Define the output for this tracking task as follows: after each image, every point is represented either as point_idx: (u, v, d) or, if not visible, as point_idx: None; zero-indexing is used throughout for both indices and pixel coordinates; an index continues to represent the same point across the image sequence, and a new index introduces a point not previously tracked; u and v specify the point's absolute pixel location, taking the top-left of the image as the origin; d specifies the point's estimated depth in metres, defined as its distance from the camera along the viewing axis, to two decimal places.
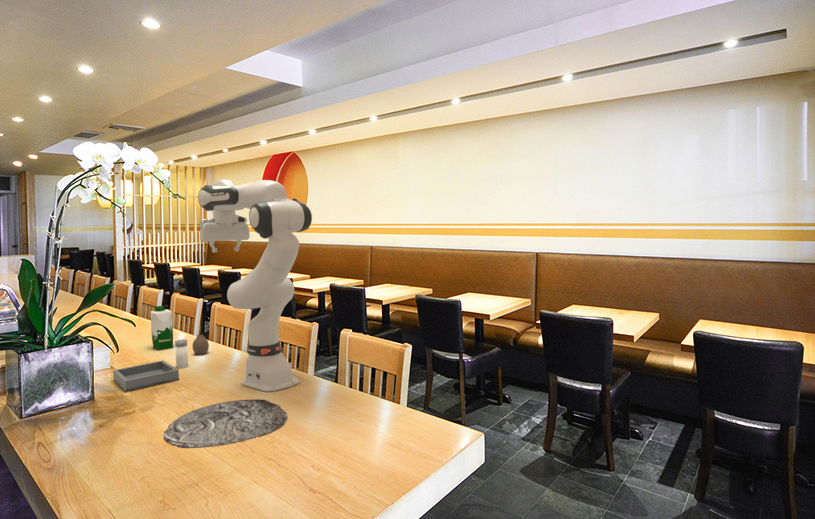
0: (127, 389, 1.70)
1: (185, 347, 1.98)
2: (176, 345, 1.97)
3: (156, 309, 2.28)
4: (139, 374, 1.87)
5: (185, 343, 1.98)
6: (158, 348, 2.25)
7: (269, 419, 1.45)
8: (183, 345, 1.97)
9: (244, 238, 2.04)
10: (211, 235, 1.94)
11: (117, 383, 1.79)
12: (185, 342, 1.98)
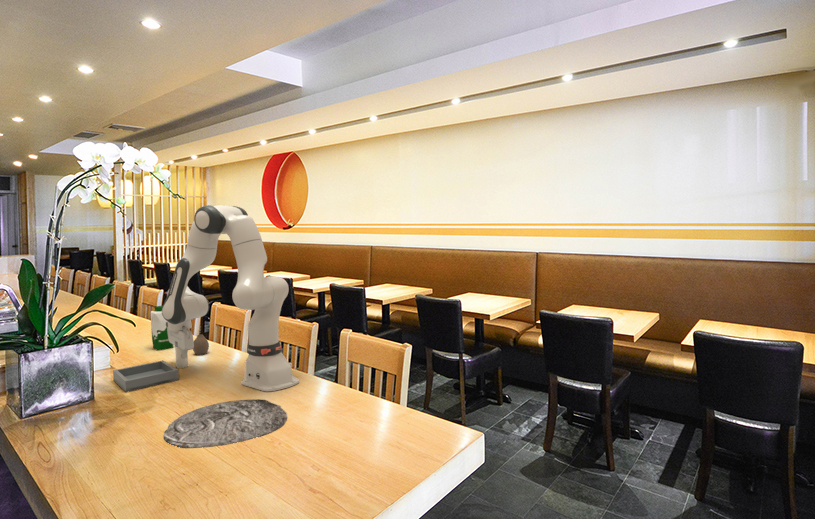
0: (127, 389, 1.70)
1: None
2: (176, 345, 1.97)
3: (156, 309, 2.28)
4: (139, 374, 1.87)
5: None
6: (158, 348, 2.25)
7: (269, 419, 1.45)
8: None
9: None
10: None
11: (117, 383, 1.79)
12: None
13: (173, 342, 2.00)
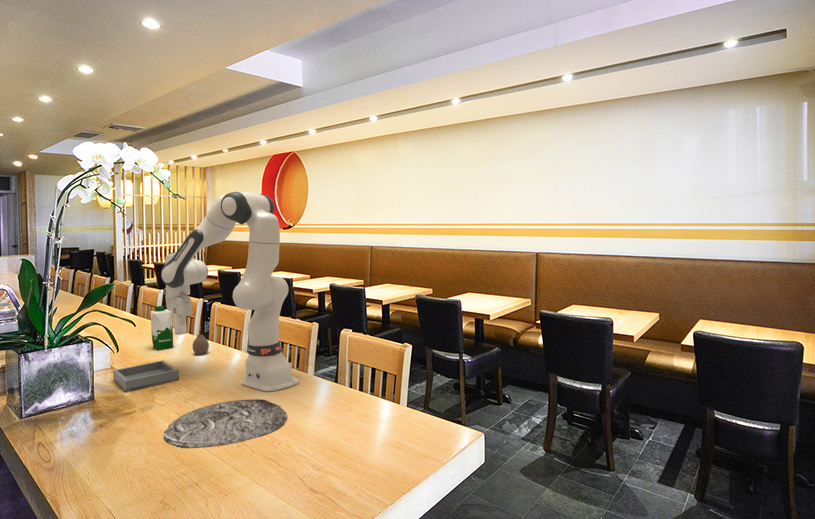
0: (127, 389, 1.70)
1: None
2: (174, 311, 1.95)
3: (156, 309, 2.28)
4: (139, 374, 1.87)
5: None
6: (158, 348, 2.25)
7: (269, 419, 1.45)
8: None
9: None
10: None
11: (117, 383, 1.79)
12: None
13: (171, 309, 1.99)
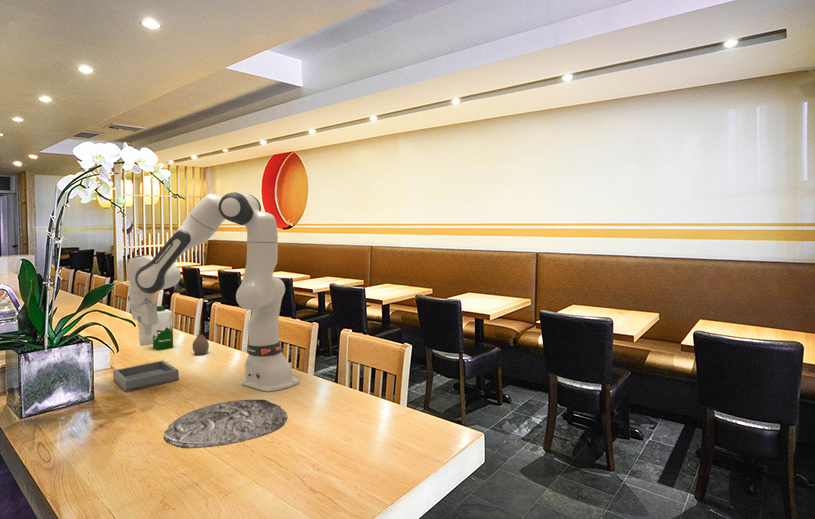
0: (127, 389, 1.70)
1: None
2: (139, 320, 1.79)
3: None
4: (139, 374, 1.87)
5: None
6: (158, 348, 2.25)
7: (269, 419, 1.45)
8: None
9: None
10: None
11: (117, 383, 1.79)
12: None
13: (136, 318, 1.82)
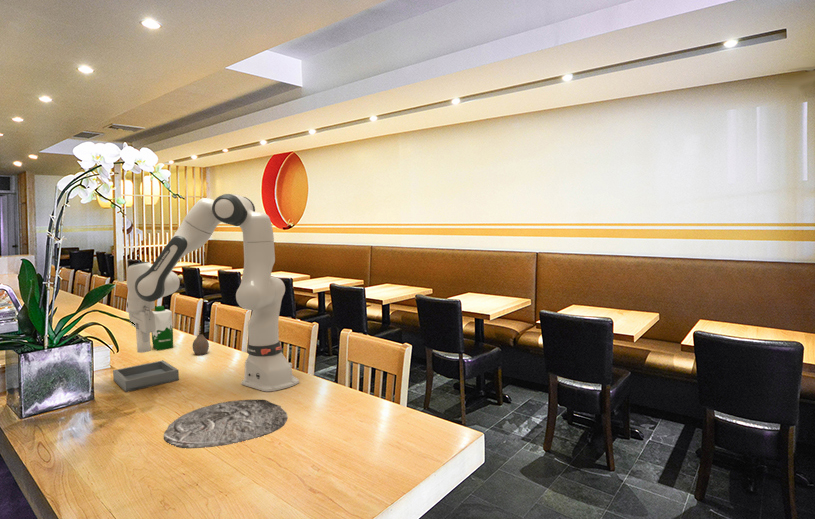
0: (127, 389, 1.70)
1: None
2: (137, 327, 1.79)
3: (156, 309, 2.28)
4: (139, 374, 1.87)
5: None
6: (158, 348, 2.25)
7: (269, 419, 1.44)
8: None
9: None
10: None
11: (117, 383, 1.79)
12: None
13: None
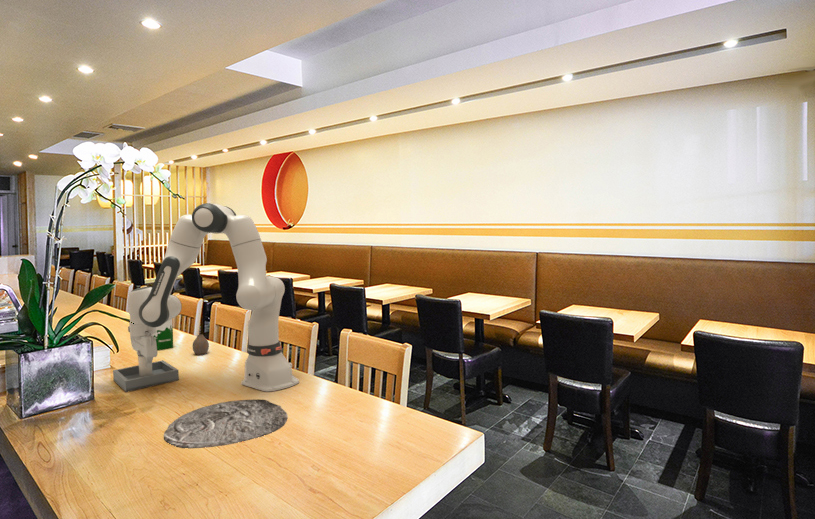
0: (127, 389, 1.70)
1: None
2: (139, 354, 1.80)
3: None
4: None
5: None
6: (158, 348, 2.25)
7: (269, 419, 1.44)
8: None
9: None
10: None
11: (117, 383, 1.79)
12: None
13: (136, 349, 1.83)
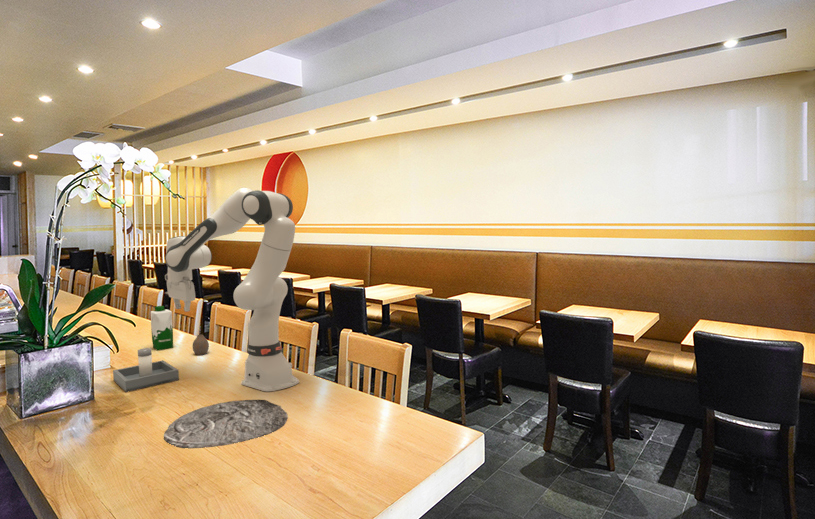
0: (127, 389, 1.70)
1: (149, 356, 1.81)
2: (139, 354, 1.80)
3: (156, 309, 2.28)
4: None
5: (149, 352, 1.81)
6: (158, 348, 2.25)
7: (269, 419, 1.44)
8: (146, 354, 1.80)
9: None
10: None
11: (117, 383, 1.79)
12: (149, 351, 1.81)
13: (173, 295, 1.94)
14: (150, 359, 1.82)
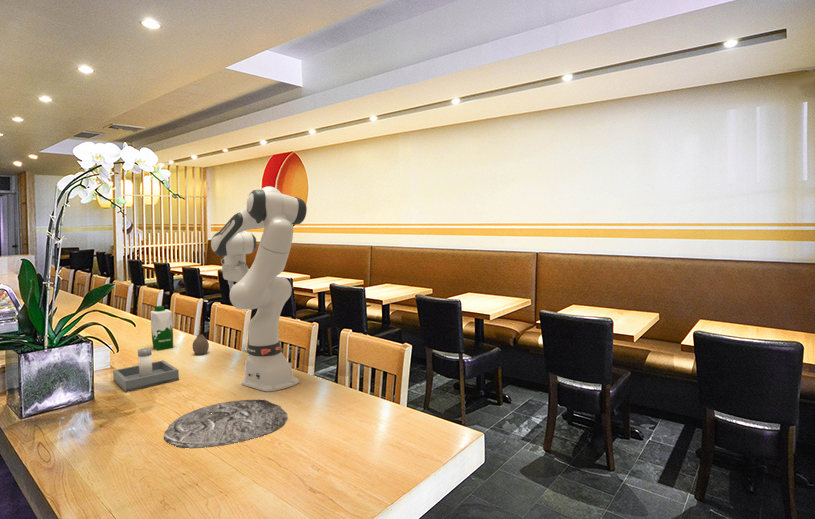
0: (127, 389, 1.70)
1: (149, 356, 1.81)
2: (139, 354, 1.80)
3: (156, 309, 2.28)
4: None
5: (149, 352, 1.81)
6: (158, 348, 2.25)
7: (269, 419, 1.44)
8: (146, 354, 1.80)
9: None
10: None
11: (117, 383, 1.79)
12: (149, 351, 1.81)
13: (228, 278, 2.15)
14: (150, 359, 1.82)
